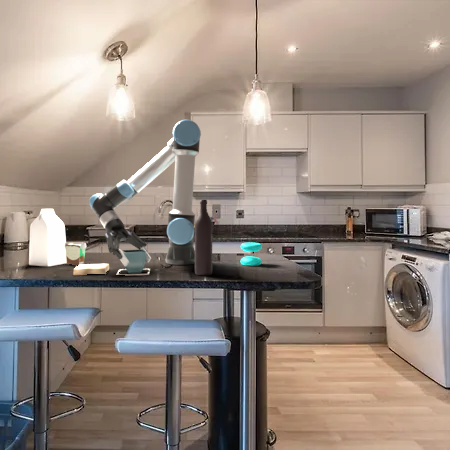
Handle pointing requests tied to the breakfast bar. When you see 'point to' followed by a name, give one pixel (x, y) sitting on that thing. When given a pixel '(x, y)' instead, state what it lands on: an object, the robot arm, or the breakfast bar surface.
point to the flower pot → (135, 260)
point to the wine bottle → (203, 241)
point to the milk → (47, 240)
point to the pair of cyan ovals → (251, 260)
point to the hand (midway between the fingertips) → (138, 262)
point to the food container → (75, 253)
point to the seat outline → (133, 274)
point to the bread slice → (91, 269)
